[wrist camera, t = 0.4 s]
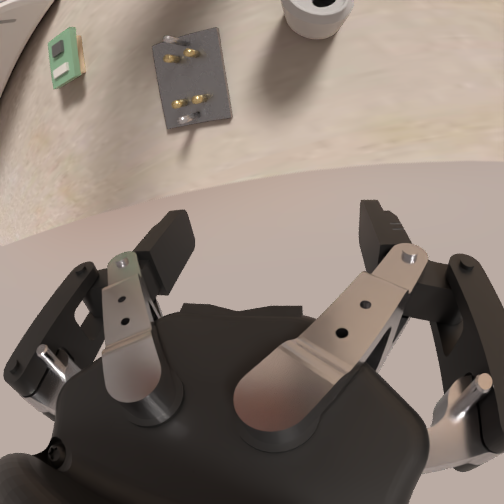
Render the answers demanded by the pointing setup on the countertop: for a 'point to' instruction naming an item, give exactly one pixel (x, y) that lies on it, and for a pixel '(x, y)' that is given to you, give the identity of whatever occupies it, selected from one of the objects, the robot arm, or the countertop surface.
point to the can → (316, 16)
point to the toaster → (17, 31)
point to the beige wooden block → (80, 54)
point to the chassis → (192, 78)
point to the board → (64, 58)
